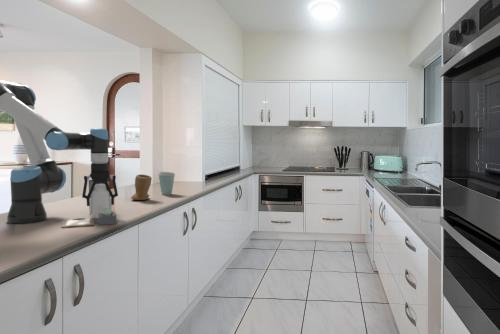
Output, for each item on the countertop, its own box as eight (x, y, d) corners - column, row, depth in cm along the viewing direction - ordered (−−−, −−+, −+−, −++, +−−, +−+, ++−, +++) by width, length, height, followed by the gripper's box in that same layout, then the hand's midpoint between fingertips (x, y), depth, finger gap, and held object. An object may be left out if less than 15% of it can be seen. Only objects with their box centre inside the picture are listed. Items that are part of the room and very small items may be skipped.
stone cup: (150, 201, 234) (149, 175, 233) (129, 201, 233) (128, 175, 232) (154, 197, 249) (153, 173, 248) (134, 197, 248) (134, 173, 247)
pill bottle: (90, 219, 179) (89, 185, 178) (92, 216, 187) (91, 184, 186) (109, 218, 181) (108, 185, 180) (110, 215, 189) (110, 183, 188)
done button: (103, 217, 169) (103, 209, 169) (103, 216, 172) (103, 208, 172) (111, 217, 171) (111, 209, 170) (111, 216, 174) (111, 208, 173)
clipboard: (61, 228, 161) (61, 225, 161) (63, 221, 174) (63, 218, 174) (93, 225, 165) (93, 223, 165) (93, 219, 178) (93, 217, 178)
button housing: (98, 224, 167) (98, 216, 167) (98, 221, 174) (98, 213, 173) (116, 223, 170) (116, 215, 169) (115, 220, 176) (115, 212, 176)
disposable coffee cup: (170, 192, 272) (169, 170, 272) (178, 194, 264) (177, 171, 263) (155, 194, 266) (155, 171, 265) (163, 195, 257) (163, 172, 257)
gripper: (74, 163, 175) (75, 215, 176) (124, 162, 182) (124, 212, 184) (75, 162, 182) (76, 212, 183) (123, 162, 189) (123, 209, 191)
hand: (100, 212), depth 184 cm, fingers closed on pill bottle, 8 cm apart
